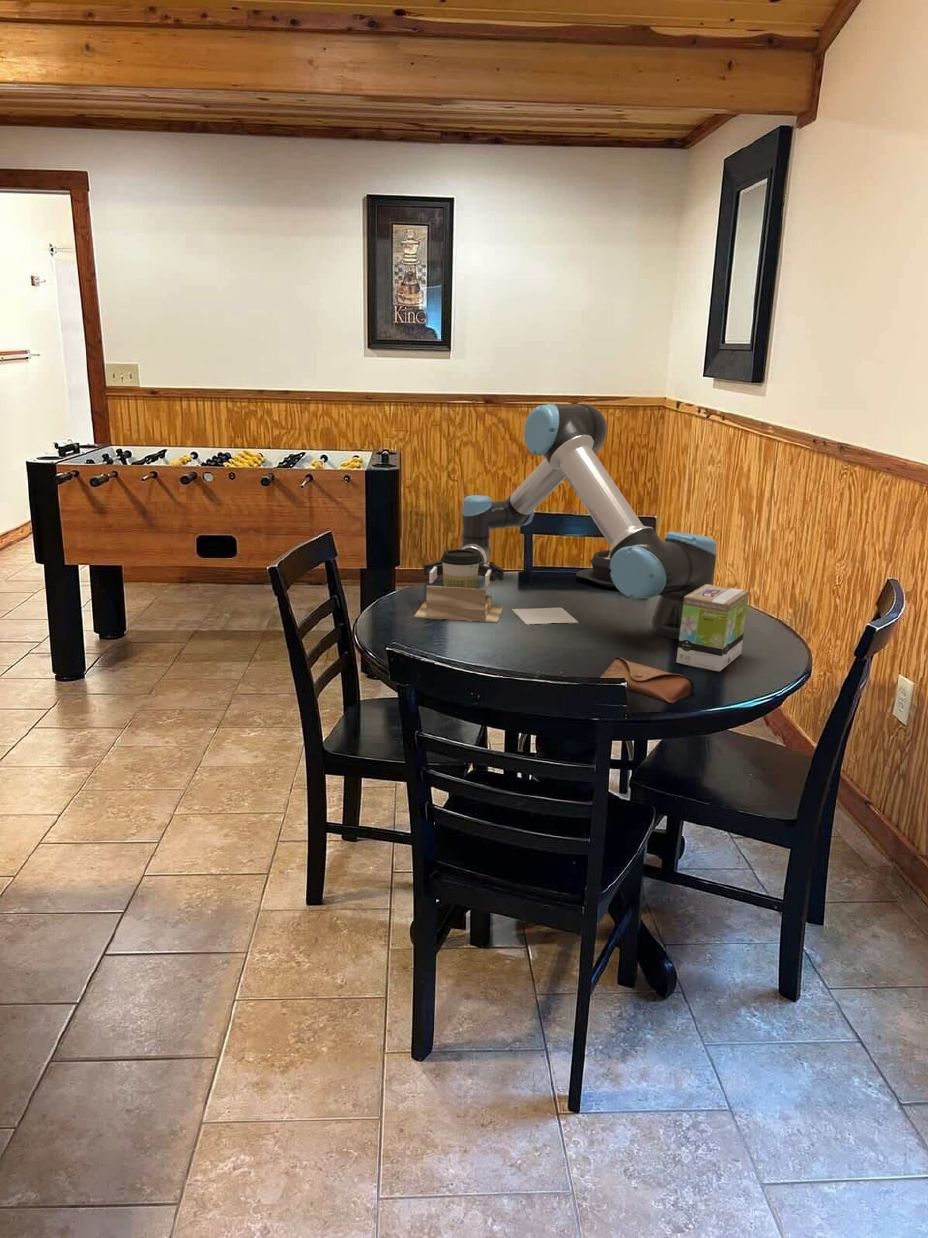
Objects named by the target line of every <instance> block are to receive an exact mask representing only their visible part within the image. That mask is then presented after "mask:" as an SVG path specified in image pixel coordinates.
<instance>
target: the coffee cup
mask: <svg viewBox="0 0 928 1238" xmlns="http://www.w3.org/2000/svg"><path fill="white" fill-rule="evenodd" d="M440 560H441V562H442V563H443V575H442V578H443V587H459V588H475V589H477V584H478V579H479V578H478V577H479V576H478V567H479V563H480V562H481V558H480V557H479V554H478V552H476V551H472V550H463V549H462V548H461V549H459V548H457V549H455V548H454V549H448V550H445V551H443V553H442V556H441V557H440Z"/></svg>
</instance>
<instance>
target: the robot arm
mask: <svg viewBox="0 0 928 1238" xmlns="http://www.w3.org/2000/svg"><path fill="white" fill-rule="evenodd" d="M607 424H608V423H607V420H606V418H605V416H604V414H603V413H602V412H601V411H600V410H599V409H598V408H597V407H596V406H593V405H590V404H587V403H564V404H560V403H558V404H557V403H547V404H541V405H538V406H536V407H534V408H533V409H532V410H531V411H530V412H529V414H528V416H527V417H526V420H525V424H524V432H523V435H524V436H523V438H524V442H525V447H526V448H527V450H528V451H529V452H530V453H531V454H533V455H536V456H538V457H542V456H543V457H544V459H542V461H541V462H540V463H539V464H538V465H537V466H536V468H534V470H533V471H532V472H531V473H530V474H529V475H528V476H527V477H526V478H525V479H524V481H522V482H521V483H520V485H519V486H518V487H517V488H516V489H515V490H514V491H513V492H512V493H511V494H510V495H509V496H508V497H507V498H506V499H505V500H498V501H496V500H495V501H492V499H491V497H490V496H488V495H479V494H477V495H475V494H474V495H473V494H472V495H467V496H465V497H464V499H463V505H462V511H461V513H462V534H461V535H462V536H461V549H463V550H472V551H476V552H478V554H479V557H480V558H481V562H480V563H479V567H478V577H480V576H481V577H484V587H485V588H486V587H489V586H490V583H491V582H495V581H496V580H499V581H503V580H504V569H503V568H501V567H500V566H498V565H496V564H495V562H494V561H489V558H490V557H491V545H490V541H491V540H490V538H491V537H490V535H491V530H500V529H507V528H521V527H523V526H528V525H529V524H531V523H532V521H533V519H534V516H535V510H536V508H538V506H539V505H540V504H542V503H543V501H544V500H546V498H548V497H549V496H550V495H551V493H552V492H553V491H554V490H556V489H557V488H558V487H559V485H561V484H562V483H563V481H565V480H567V481H568V483H569V485H570V486H571V488H572V489H573V491H574V493H576V495H577V497H578V499H579V501H581V503H582V505H583V506H584V508H585V509H586V511H587V513H588V515H590V517H591V518H592V520H593V522H594V524H595V525H596V526H597V528H598V529H599V531H600V532H601V534H602V535H603V537H604V539H605V540H606V542H607V543H608V545H609V547H610V548H609V549H610V553H609V557H610V559H611V562H610V569H611V570H612V571H611V573H610V575H611V578H612V581H613V583H614V585H615V586H616V587H617V588H616V589H617V590H618V591H619V592H620V593H622V594H623V595H624V596H627V597H628V598H631V599H639V600H640V599H651V598H654V597H656V596H657V597H658V596H659V599H658V601H657V604H656V606H655V608H654V610H653V613H652V615H651V617H650V622H649V630H650V631H651V632H652V633H653V634H655V635H658V636H661V637H663V638H669V639H673V640H679V636H680V627H681V619H682V611H683V603H684V597H685V596H686V595H688V594H690V593H692V592H693V591H695V590H697V589H698V588H700V587H702V586H704V585H705V584H709V585H714V577H715V568H716V561H717V560H716V559H717V556H718V555H717V542H716V540H715V539H714V538H712V537H708V536H704V535H699V534H693V533H687V532H679V531H668V532H666V534H665V537H664V539H663V540H662V539H661V537H660V536H659V534H658V533H657V532H656V530H655V529H654V528H653V527H652V526H645V525H644V524H643V523H642V521H640V518H639V517H638V515H637V514H636V513H635V511H634V509H632V507H631V505H630V503H629V502H628V501H627V499H626V498H625V496H624V495H623V494H622V492H621V490H620V489H619V487H618V486H617V485H616V482H615V481H614V480H613V479H612V477H611V476H610V474H609V472H608V471H607V470H606V468H605V467H604V465H603V463H602V461H600V459H599V458H598V456H597V455H596V454H598V452H599V451H600V449H602V447H603V446H604V443H605V442H606V438H607V435H608V425H607ZM488 561H489V562H488ZM486 563H487V564H486ZM422 569H423V570H422V571H423V572H422V573H423V574H422V576H426V577H427V578H429V581H428V583H429V584H433V583H434V582H435V581H436V579H437V578H438V576H443V563H442V562H441V559H440V560H437V561H434V562H430V563H426V564H423V567H422Z"/></svg>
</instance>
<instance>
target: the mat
mask: <svg viewBox="0 0 928 1238" xmlns="http://www.w3.org/2000/svg"><path fill="white" fill-rule="evenodd" d="M511 611H512V612H513V613H514V614H515V615H516V616H517V617H518V618H519V619H520V621H521V622H522V623H523V624H526V625H525V626H531V625H530V624H533V625H534V624H541V625H551V624H550V623H569V624H579V621H578V620H577V619H576V618H574V617H573V616H572V615H571V614H570V613H569V612H567V611H566V609H564V608H563V607H543V608H542V607H539V608H511ZM548 623H549V624H548ZM533 625H532V626H533Z"/></svg>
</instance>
